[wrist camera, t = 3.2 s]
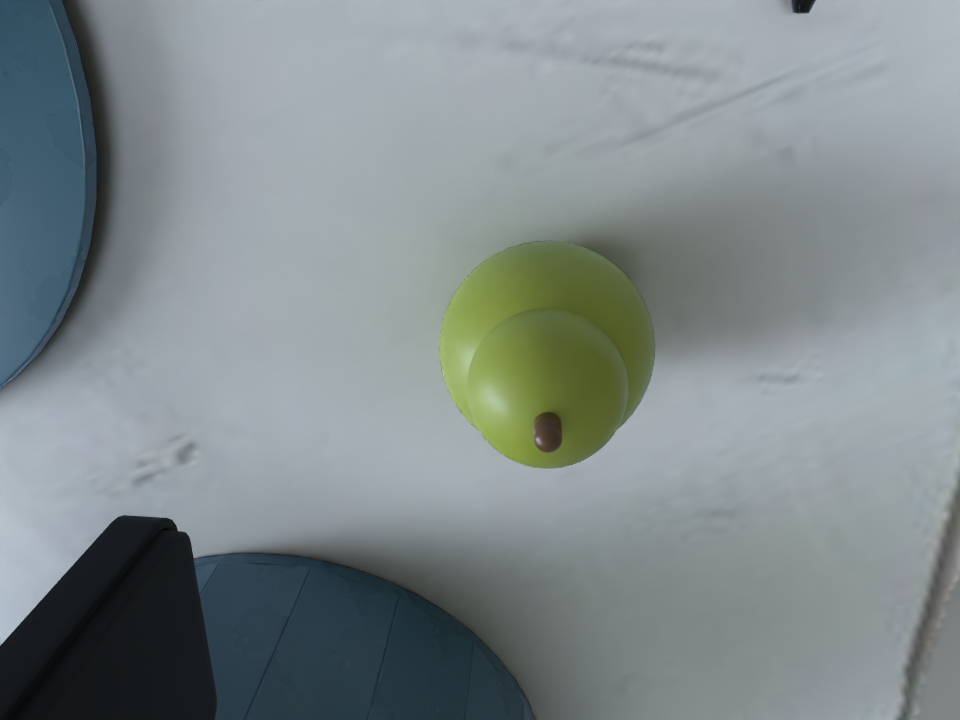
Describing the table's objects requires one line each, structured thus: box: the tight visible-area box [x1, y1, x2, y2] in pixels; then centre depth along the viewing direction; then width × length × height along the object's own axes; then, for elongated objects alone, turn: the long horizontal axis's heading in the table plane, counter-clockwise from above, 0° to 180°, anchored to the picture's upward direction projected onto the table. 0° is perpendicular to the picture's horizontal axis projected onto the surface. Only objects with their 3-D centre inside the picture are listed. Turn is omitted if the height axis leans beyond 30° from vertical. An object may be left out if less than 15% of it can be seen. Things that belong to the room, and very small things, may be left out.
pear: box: [439, 241, 655, 468], centre depth 16 cm, size 5×5×7 cm
